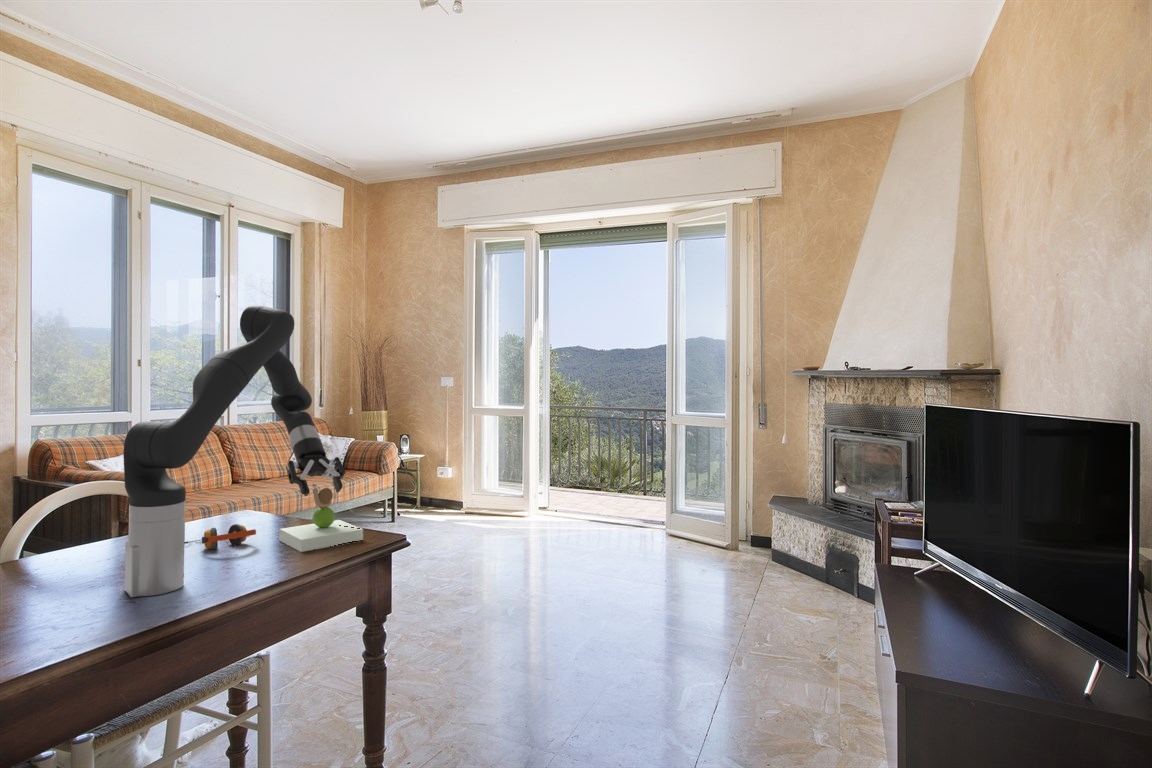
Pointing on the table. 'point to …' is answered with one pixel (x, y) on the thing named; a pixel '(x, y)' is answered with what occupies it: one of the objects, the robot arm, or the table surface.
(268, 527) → the table surface
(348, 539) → the sage board
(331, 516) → the snail figurine
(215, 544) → the headphones
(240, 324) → the robot arm
